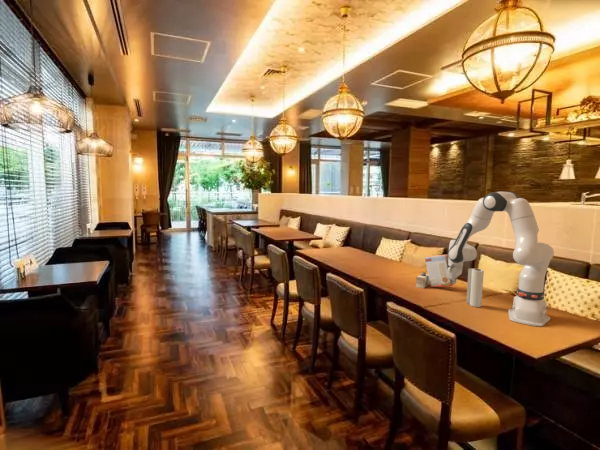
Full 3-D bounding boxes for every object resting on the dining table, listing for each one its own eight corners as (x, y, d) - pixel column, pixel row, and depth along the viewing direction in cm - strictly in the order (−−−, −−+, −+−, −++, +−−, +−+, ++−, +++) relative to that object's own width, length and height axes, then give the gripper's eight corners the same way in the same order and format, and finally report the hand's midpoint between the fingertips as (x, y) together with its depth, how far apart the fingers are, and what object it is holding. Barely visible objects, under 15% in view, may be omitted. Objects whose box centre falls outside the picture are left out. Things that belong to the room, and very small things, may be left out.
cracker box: (454, 284, 229) (448, 253, 231) (450, 286, 225) (444, 255, 226) (434, 285, 239) (428, 255, 240) (430, 287, 235) (424, 257, 236)
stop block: (423, 288, 232) (423, 275, 231) (415, 286, 236) (416, 274, 235) (430, 283, 243) (430, 271, 242) (423, 282, 246) (423, 270, 245)
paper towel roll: (483, 307, 197) (486, 270, 194) (474, 307, 196) (476, 271, 193) (475, 303, 204) (477, 267, 201) (466, 303, 203) (468, 268, 200)
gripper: (455, 266, 216) (453, 287, 217) (464, 261, 231) (463, 281, 233) (445, 264, 220) (443, 285, 222) (455, 259, 235) (453, 279, 237)
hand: (453, 283), depth 227 cm, fingers closed, pressing on cracker box
